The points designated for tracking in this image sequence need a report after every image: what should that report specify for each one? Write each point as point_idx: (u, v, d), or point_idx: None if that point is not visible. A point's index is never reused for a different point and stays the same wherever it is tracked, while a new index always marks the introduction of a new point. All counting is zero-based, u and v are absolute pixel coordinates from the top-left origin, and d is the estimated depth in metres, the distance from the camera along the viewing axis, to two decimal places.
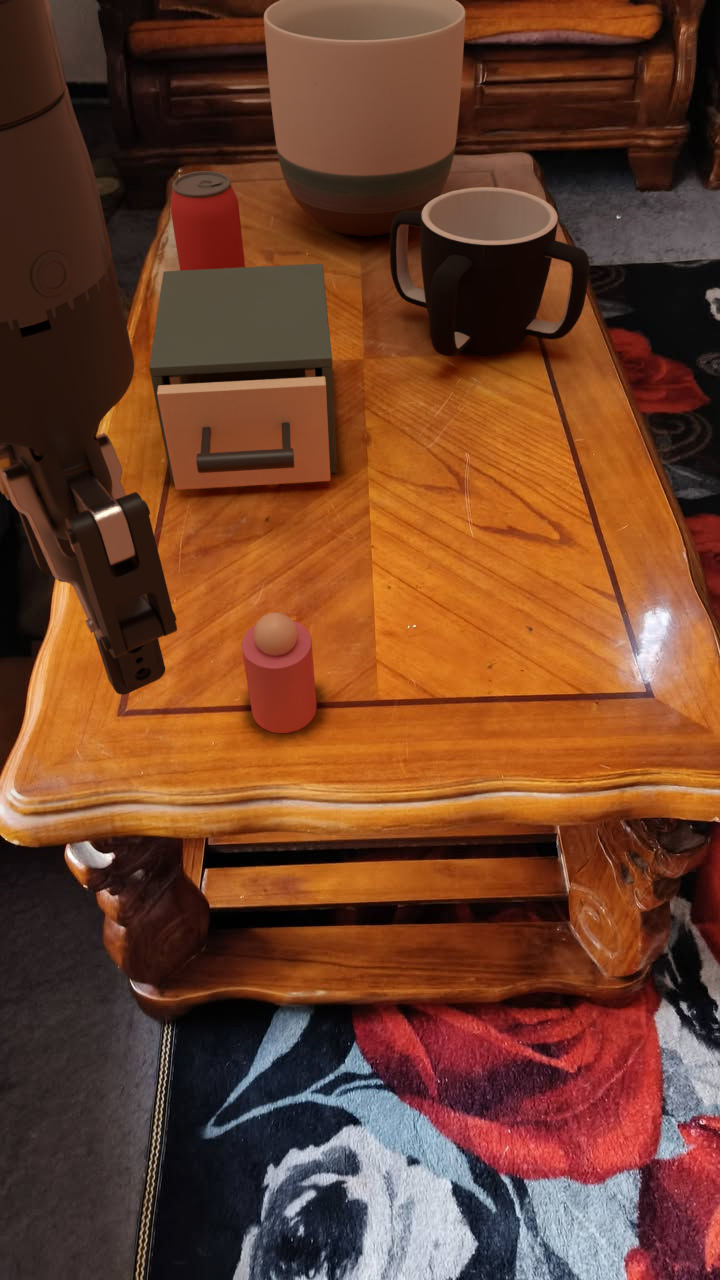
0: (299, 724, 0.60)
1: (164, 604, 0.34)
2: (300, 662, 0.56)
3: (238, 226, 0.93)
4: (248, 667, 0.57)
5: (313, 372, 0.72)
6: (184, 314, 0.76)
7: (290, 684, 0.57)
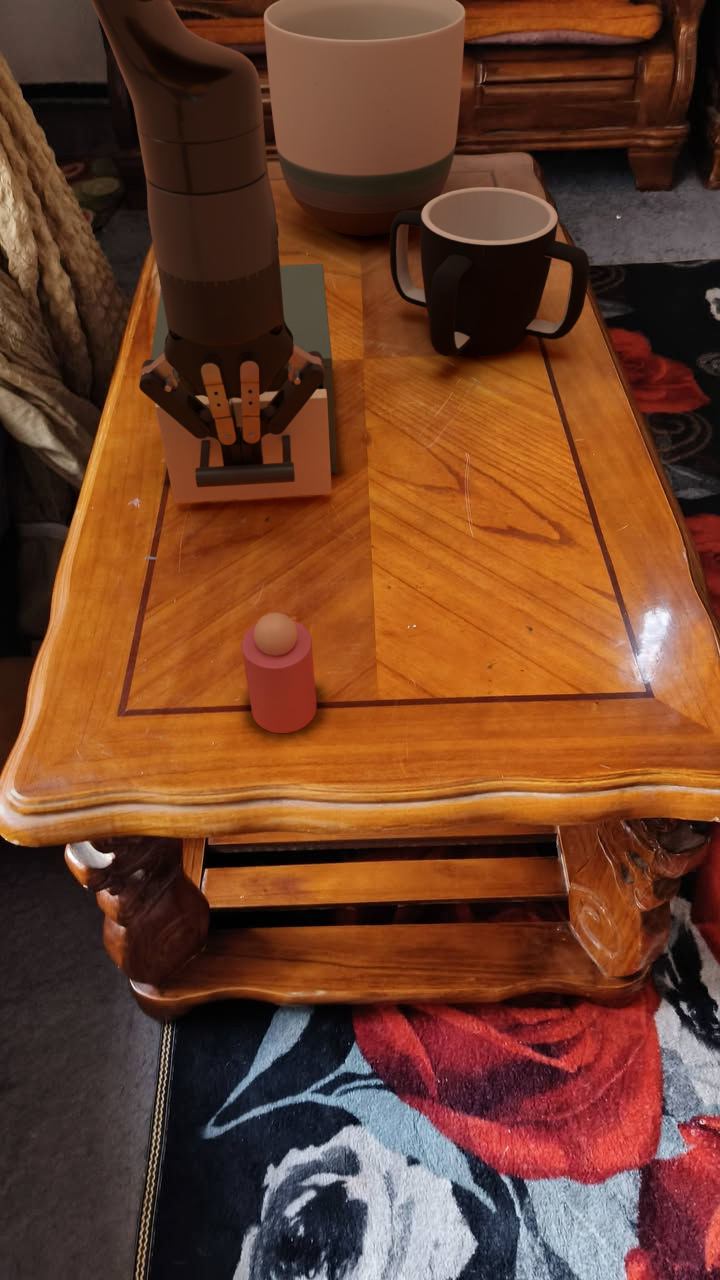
0: (299, 724, 0.60)
1: None
2: (300, 662, 0.56)
3: None
4: (248, 667, 0.57)
5: None
6: None
7: (290, 684, 0.57)
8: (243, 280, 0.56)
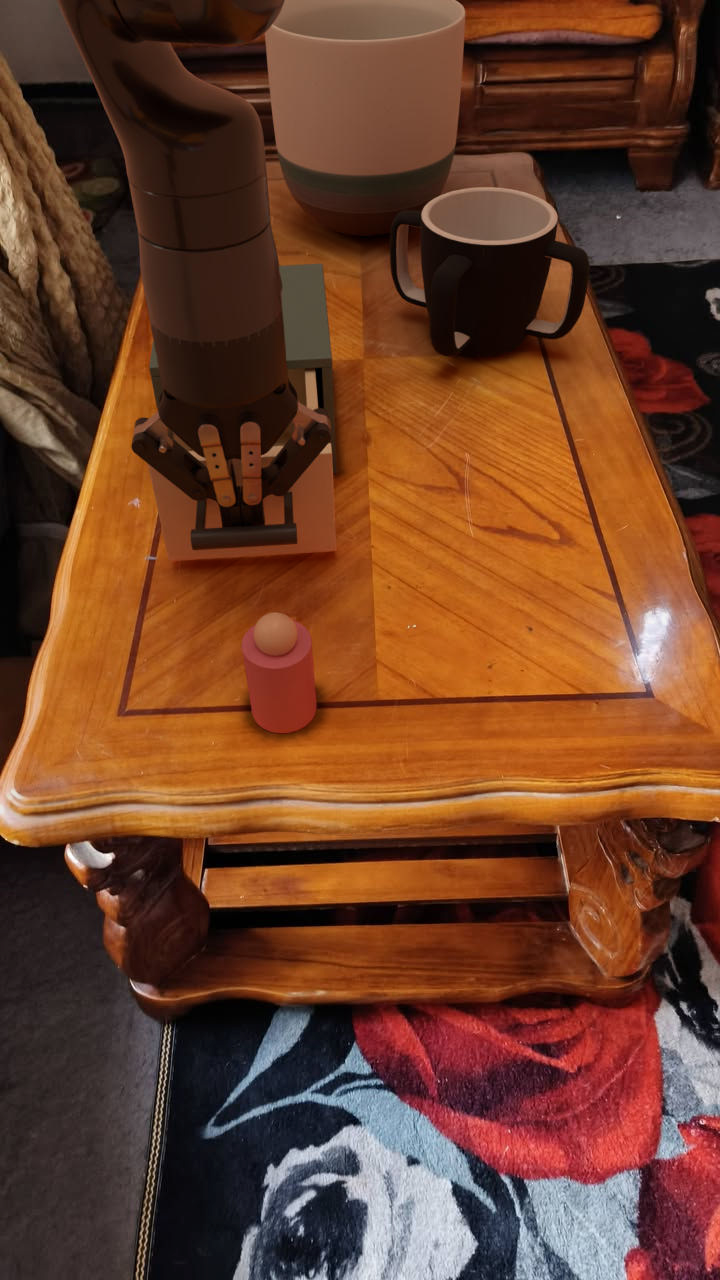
0: (299, 724, 0.60)
1: None
2: (300, 662, 0.56)
3: None
4: (248, 667, 0.57)
5: None
6: None
7: (290, 684, 0.57)
8: (243, 340, 0.52)
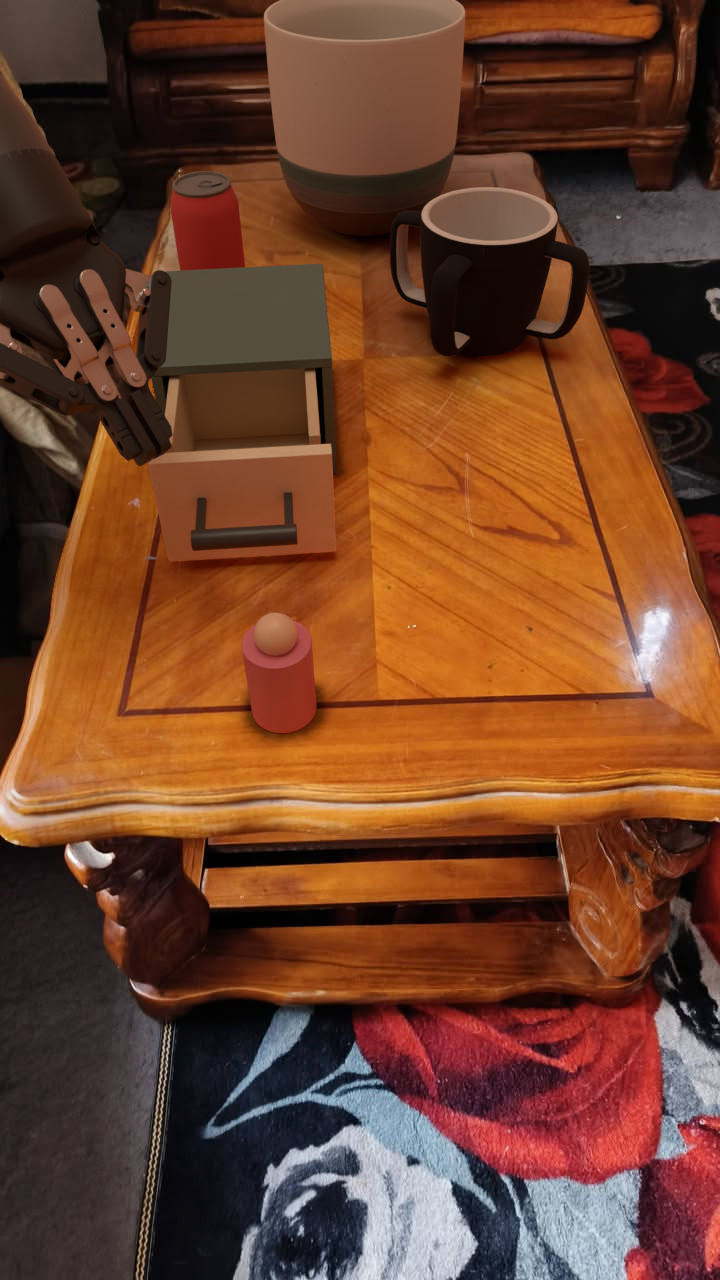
0: (299, 724, 0.60)
1: None
2: (300, 662, 0.56)
3: (238, 226, 0.93)
4: (248, 667, 0.57)
5: (318, 438, 0.67)
6: (184, 314, 0.76)
7: (290, 684, 0.57)
8: (35, 152, 0.52)
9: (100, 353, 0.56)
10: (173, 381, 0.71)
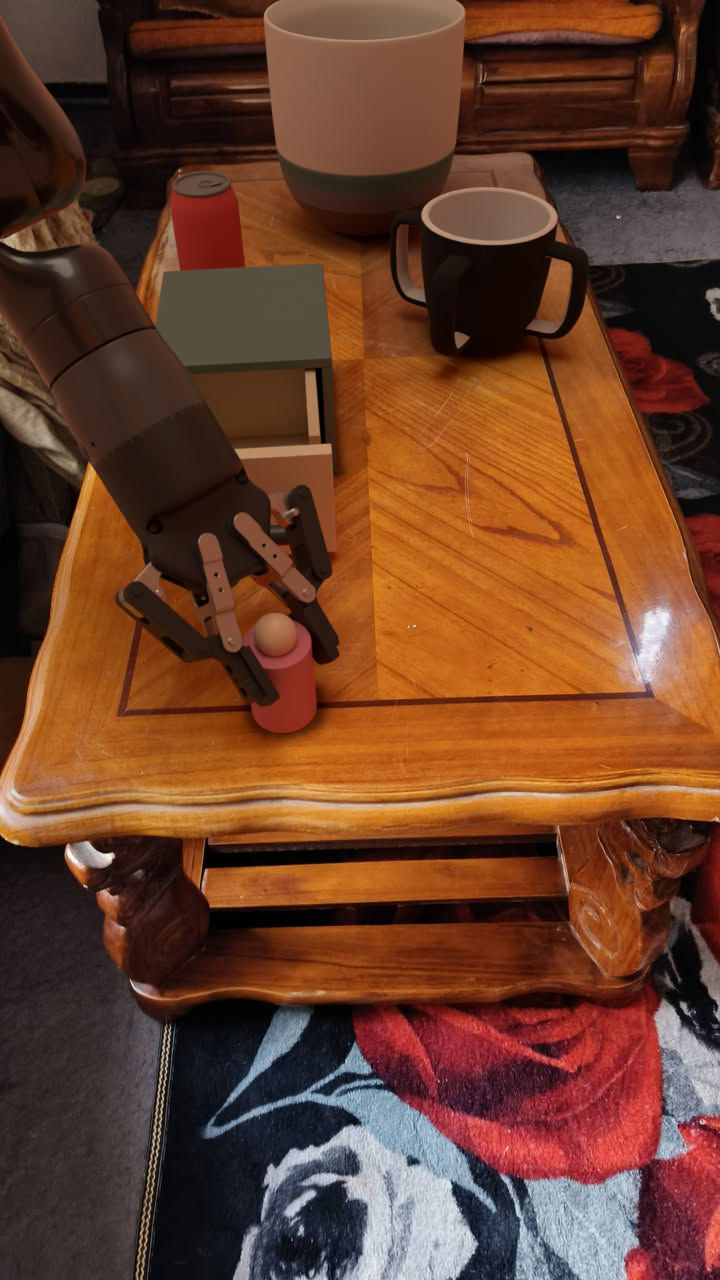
0: (300, 724, 0.60)
1: None
2: (300, 662, 0.56)
3: (238, 226, 0.93)
4: None
5: (318, 438, 0.67)
6: (184, 314, 0.76)
7: (290, 684, 0.57)
8: (194, 408, 0.53)
9: (261, 577, 0.58)
10: None
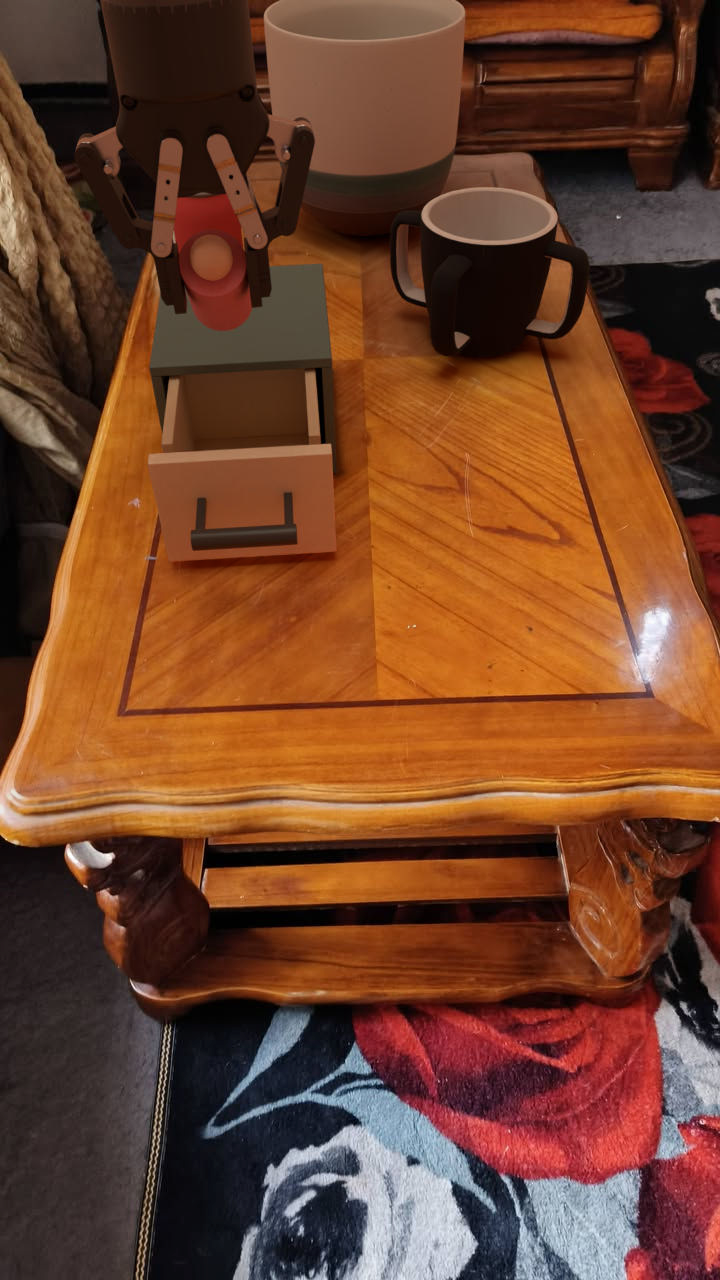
0: (218, 328, 0.64)
1: None
2: (216, 297, 0.59)
3: (238, 226, 0.93)
4: None
5: (318, 438, 0.67)
6: (184, 314, 0.76)
7: (206, 305, 0.60)
8: (205, 6, 0.47)
9: None
10: (173, 381, 0.71)
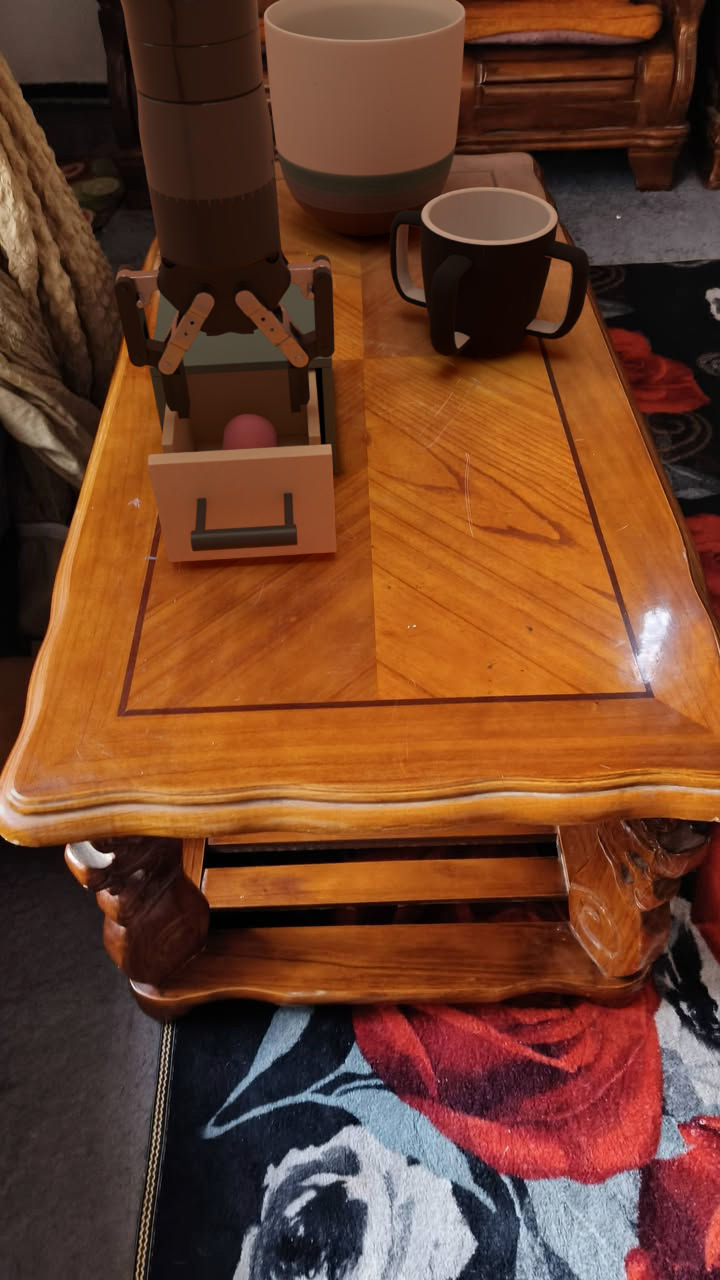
0: None
1: None
2: None
3: None
4: None
5: (318, 438, 0.66)
6: None
7: None
8: (238, 199, 0.54)
9: None
10: None
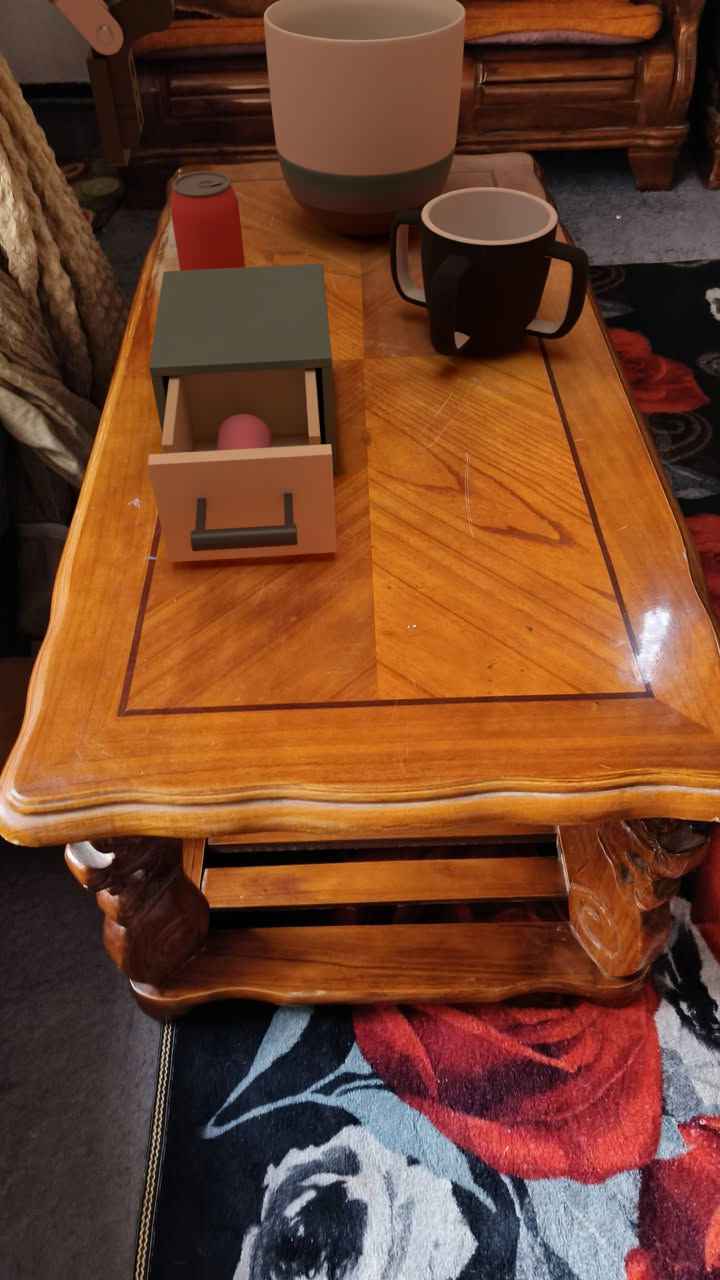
0: None
1: None
2: None
3: (238, 226, 0.93)
4: None
5: (318, 438, 0.66)
6: (184, 314, 0.76)
7: None
8: None
9: None
10: (173, 382, 0.71)
